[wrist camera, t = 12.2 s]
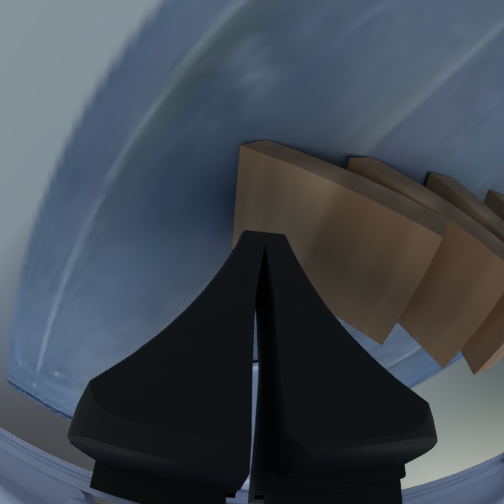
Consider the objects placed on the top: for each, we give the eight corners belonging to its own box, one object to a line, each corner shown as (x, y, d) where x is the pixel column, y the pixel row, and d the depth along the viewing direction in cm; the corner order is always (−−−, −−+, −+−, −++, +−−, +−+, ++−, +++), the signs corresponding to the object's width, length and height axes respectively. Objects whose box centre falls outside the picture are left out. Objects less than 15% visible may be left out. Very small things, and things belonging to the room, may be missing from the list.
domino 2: (372, 157, 12) (523, 259, 7) (346, 246, 15) (459, 349, 10) (350, 157, 12) (516, 272, 6) (324, 253, 15) (443, 368, 9)
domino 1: (266, 139, 12) (449, 220, 8) (254, 235, 15) (395, 321, 11) (240, 145, 11) (442, 237, 7) (232, 247, 14) (381, 344, 10)
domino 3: (450, 176, 12) (559, 281, 6) (418, 254, 15) (492, 365, 9) (430, 172, 12) (547, 285, 6) (398, 254, 15) (473, 374, 9)
